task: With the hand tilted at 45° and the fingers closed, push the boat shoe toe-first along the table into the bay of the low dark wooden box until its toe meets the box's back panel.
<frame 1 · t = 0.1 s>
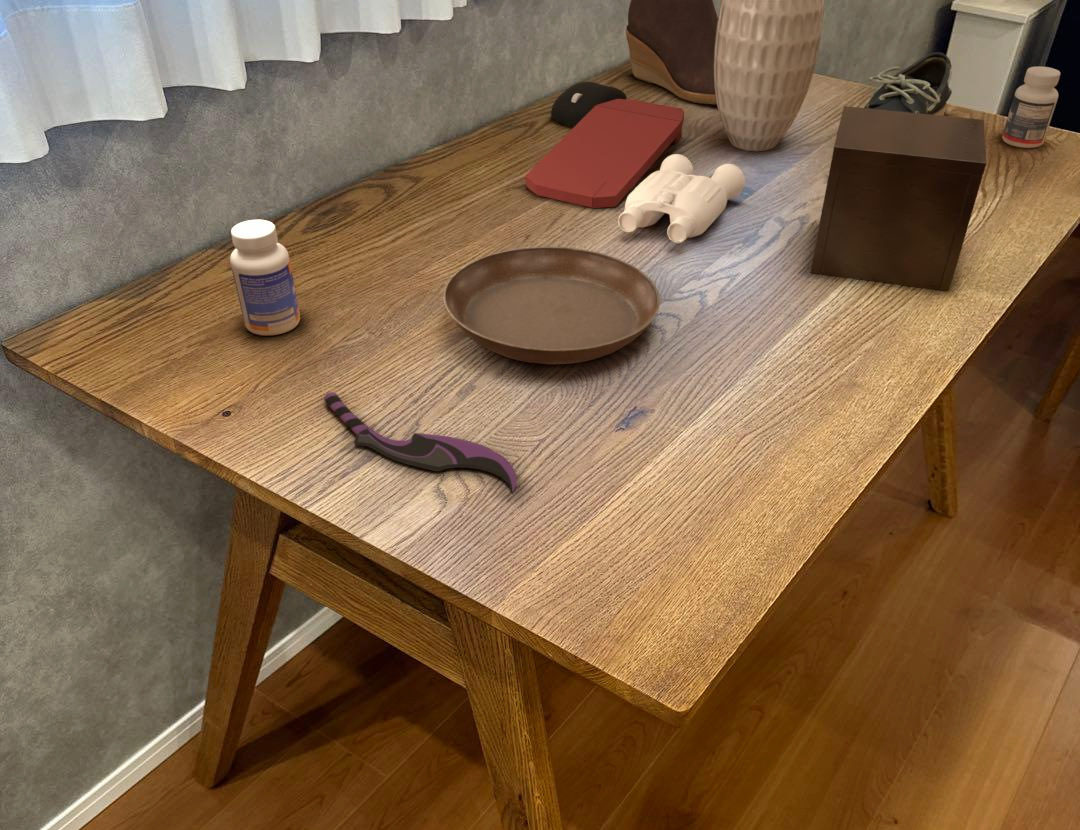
pill bottle: (1021, 143, 135), on the table
computer mouse: (592, 116, 142), on the table
boat shoe: (896, 135, 137), on the table
knife: (413, 447, 84), on the table
pill bottle 2: (273, 325, 99), on the table
dark wooden box: (881, 256, 110), on the table
binoculars: (676, 220, 117), on the table
vase: (752, 144, 135), on the table
plant saucer: (551, 324, 99), on the table
carton: (611, 167, 129), on the table
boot: (689, 92, 150), on the table
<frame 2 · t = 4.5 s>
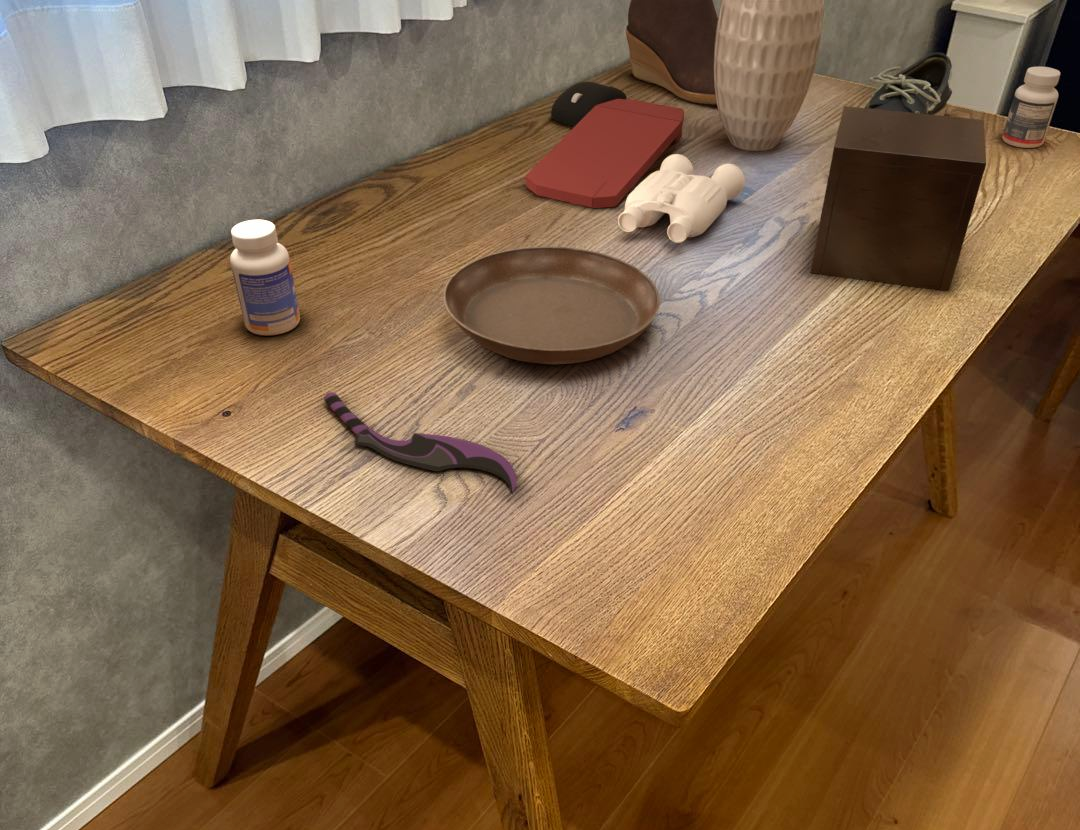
nothing on the table moved.
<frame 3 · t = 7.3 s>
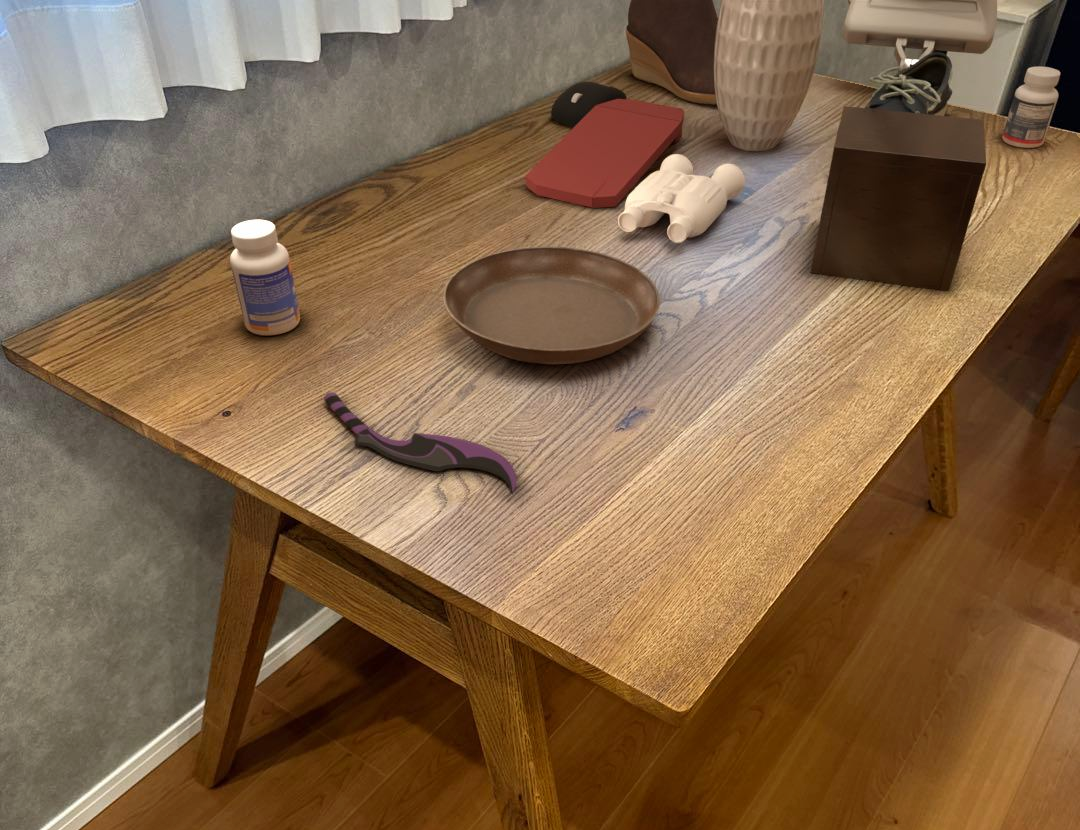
hand: (908, 74, 143), 4 cm above the table, tool tilted 45°, fingers closed
boat shoe: (897, 135, 137), on the table, touching gripper
everything else where it was.
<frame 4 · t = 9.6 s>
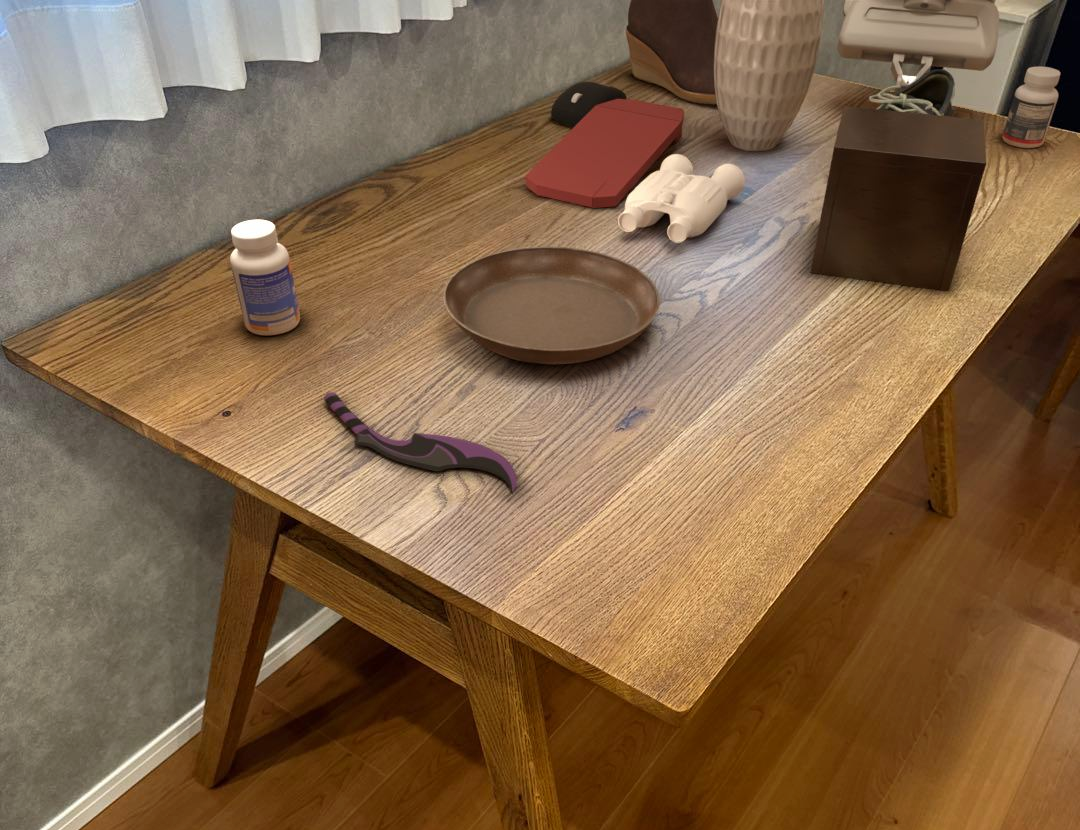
hand: (905, 92, 136), 4 cm above the table, tool tilted 45°, fingers closed
boat shoe: (897, 156, 132), on the table, touching gripper
everything else where it was.
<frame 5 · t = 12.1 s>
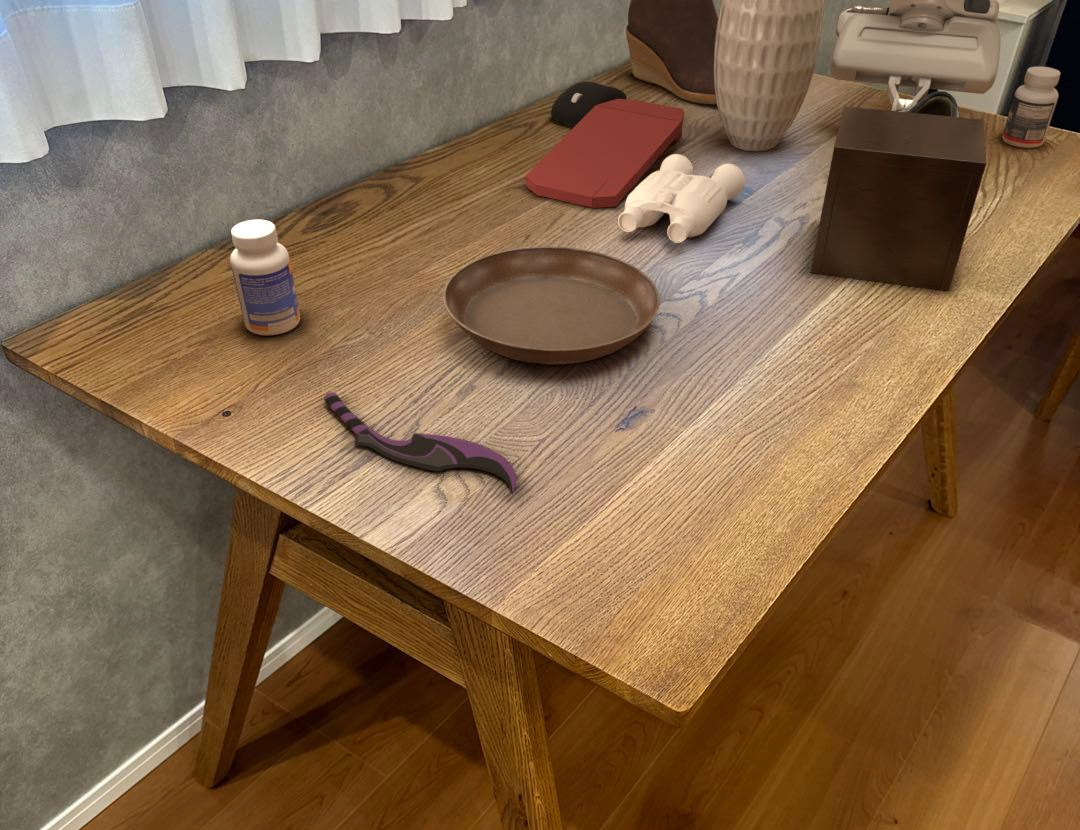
hand: (902, 116, 129), 4 cm above the table, tool tilted 45°, fingers closed
boat shoe: (903, 184, 125), on the table, touching gripper
everything else where it was.
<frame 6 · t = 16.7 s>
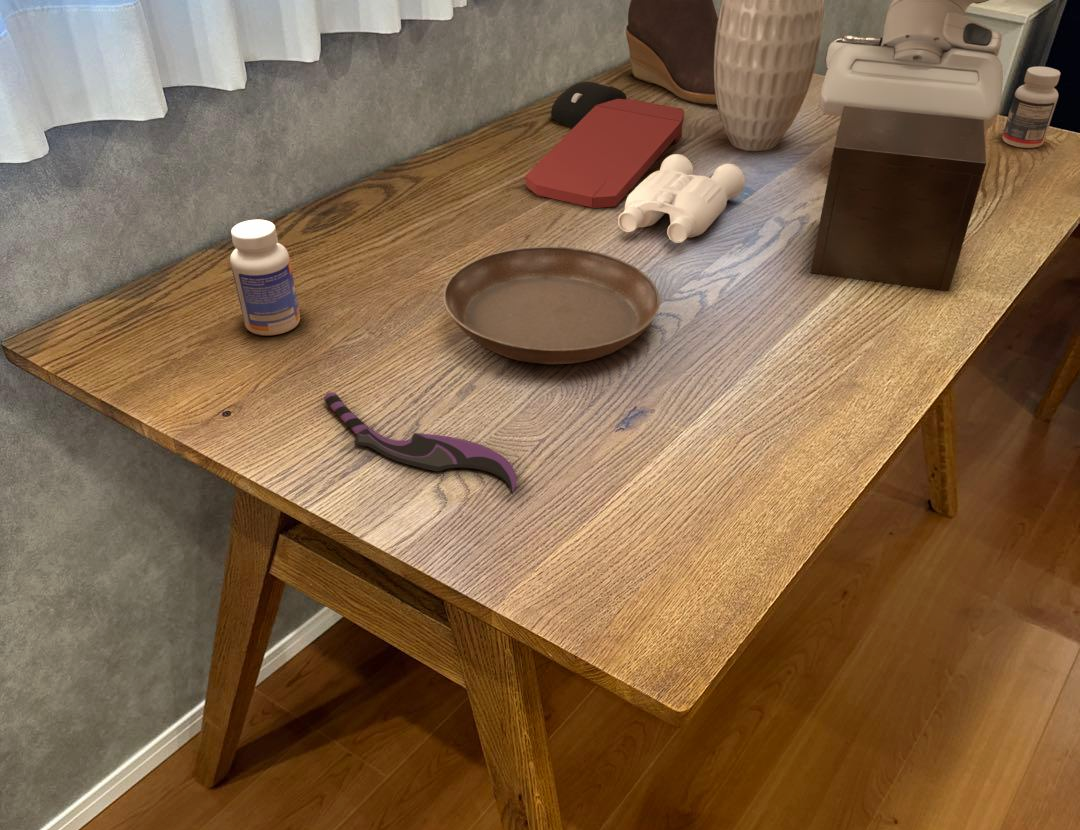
hand: (896, 155, 120), 4 cm above the table, tool tilted 45°, fingers closed
boat shoe: (912, 222, 117), on the table, touching gripper
everything else where it was.
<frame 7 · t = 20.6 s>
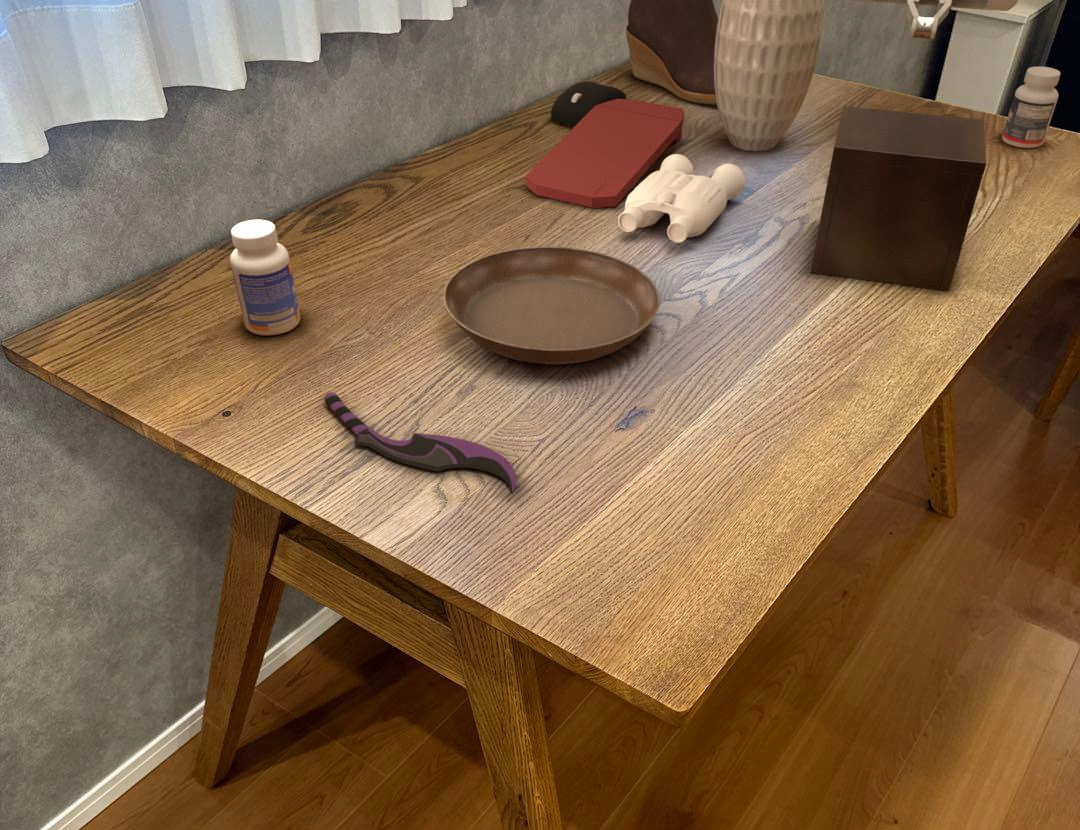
hand: (922, 35, 122), 14 cm above the table, tool tilted 45°, fingers closed
boat shoe: (912, 223, 116), on the table
everything else where it was.
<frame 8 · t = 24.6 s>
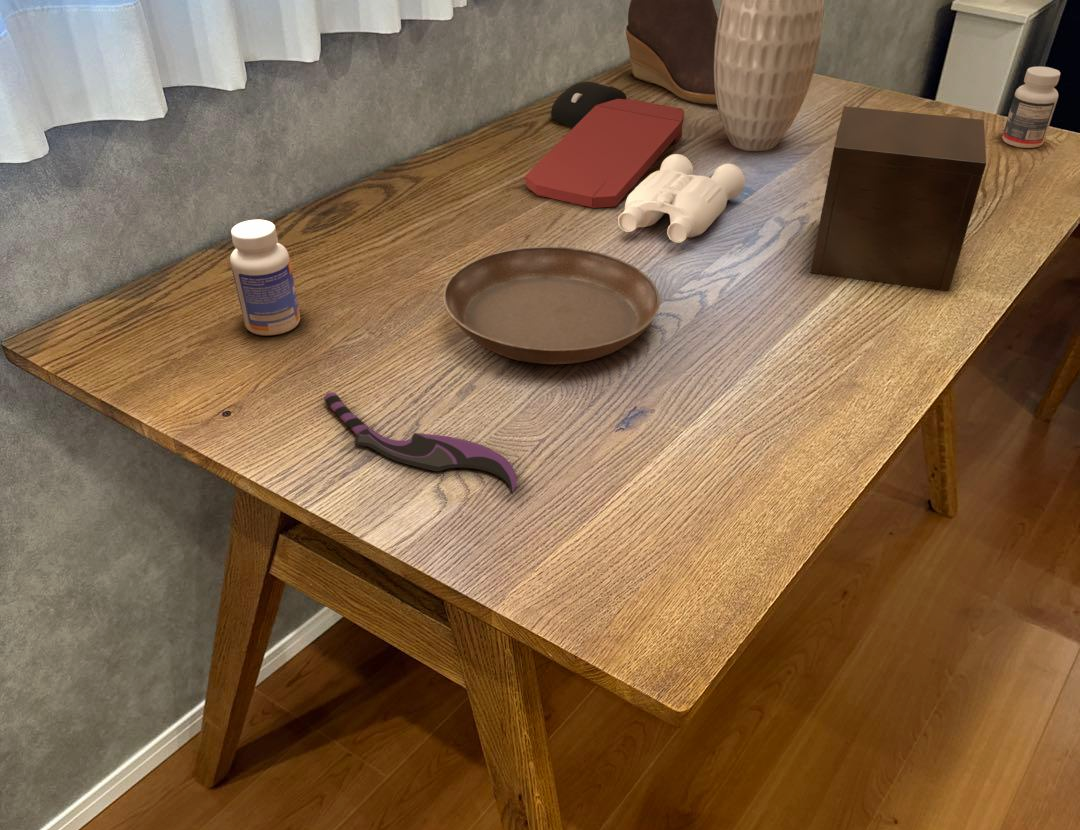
boat shoe: (912, 223, 116), on the table, touching dark wooden box
everything else where it was.
at the end: boat shoe inside the target area on the dark wooden box (4.2 cm from its centre), point 0.0 cm above the dark wooden box's base; boat shoe tilted 0°; boat shoe moved 28.2 cm from its start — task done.
